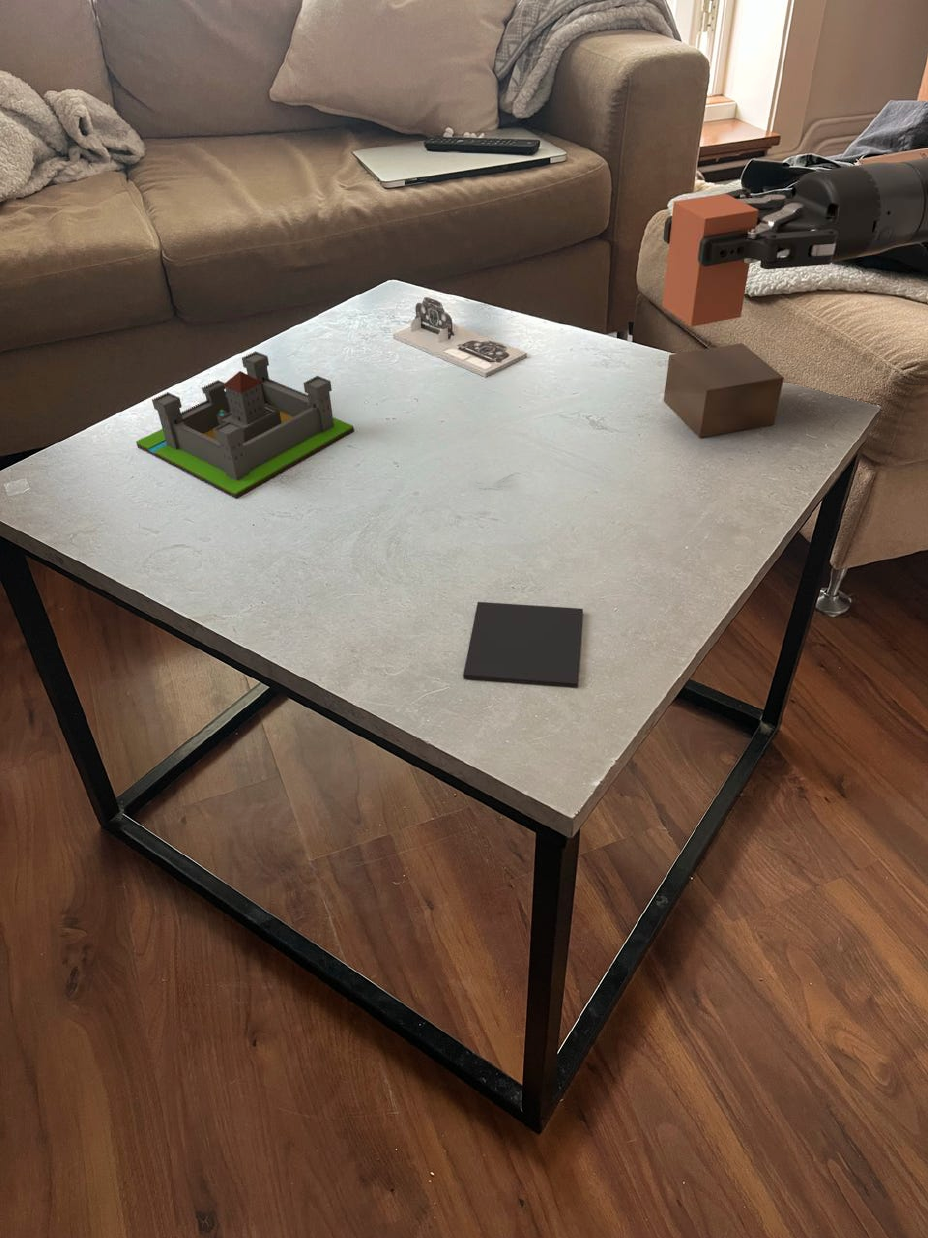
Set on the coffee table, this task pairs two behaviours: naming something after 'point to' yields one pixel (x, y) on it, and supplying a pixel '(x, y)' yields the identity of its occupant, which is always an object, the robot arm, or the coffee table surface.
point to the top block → (688, 282)
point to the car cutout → (456, 341)
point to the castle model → (245, 428)
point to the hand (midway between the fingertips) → (684, 241)
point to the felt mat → (525, 644)
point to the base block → (722, 389)
